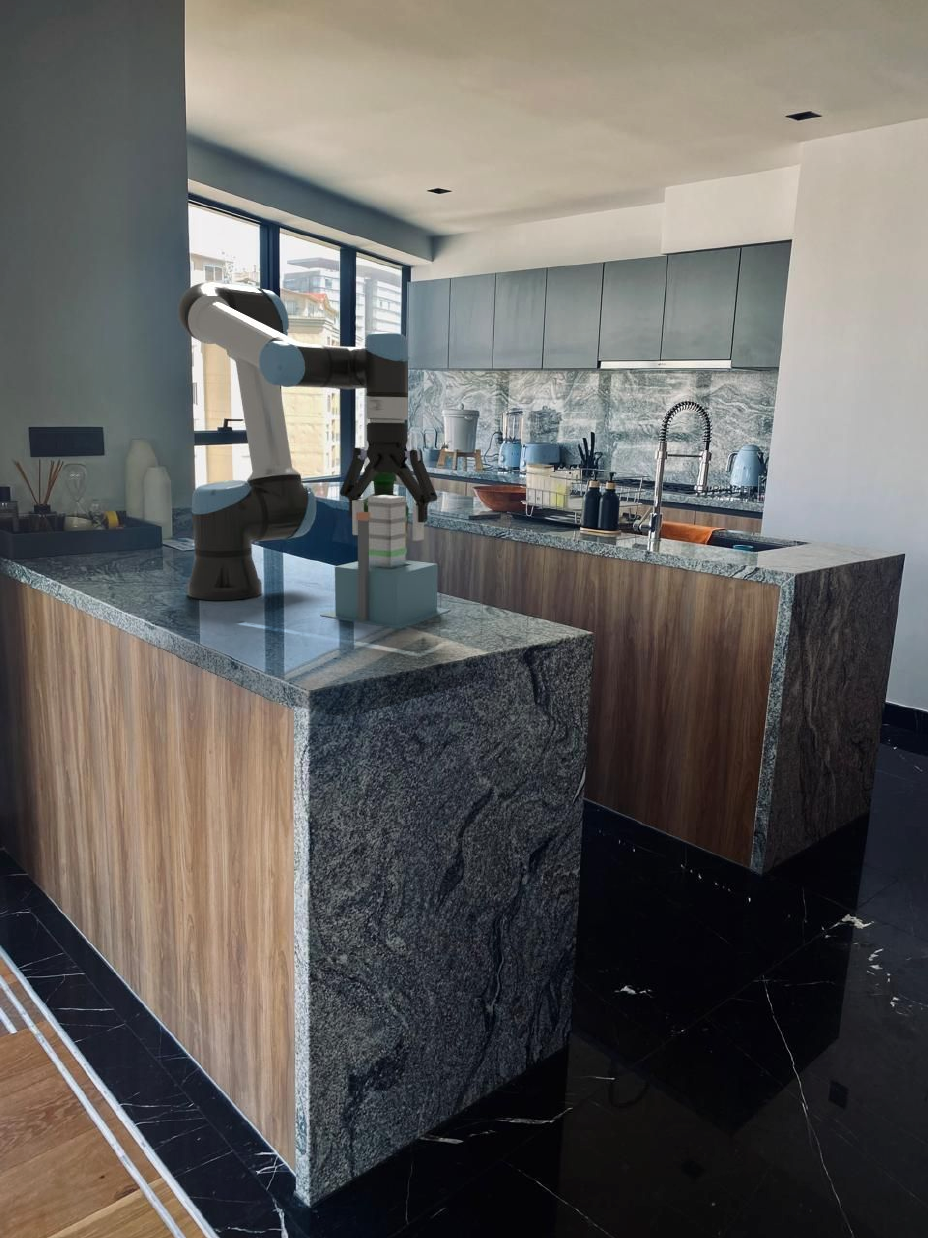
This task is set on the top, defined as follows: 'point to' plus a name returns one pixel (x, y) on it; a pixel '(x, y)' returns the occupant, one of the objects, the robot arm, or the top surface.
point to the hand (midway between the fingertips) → (387, 537)
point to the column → (387, 531)
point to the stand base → (384, 589)
